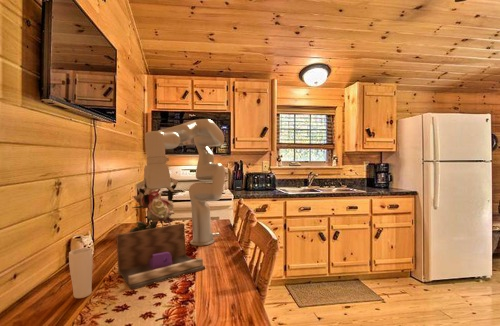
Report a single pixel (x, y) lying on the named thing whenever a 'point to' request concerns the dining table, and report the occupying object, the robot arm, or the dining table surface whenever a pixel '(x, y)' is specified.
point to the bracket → (160, 260)
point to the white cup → (81, 271)
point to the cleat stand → (153, 242)
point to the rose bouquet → (154, 210)
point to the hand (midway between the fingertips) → (158, 202)
